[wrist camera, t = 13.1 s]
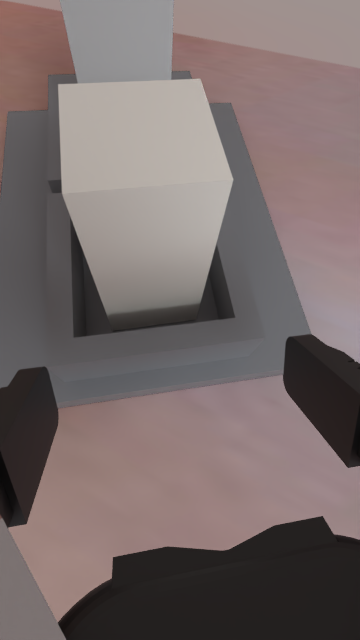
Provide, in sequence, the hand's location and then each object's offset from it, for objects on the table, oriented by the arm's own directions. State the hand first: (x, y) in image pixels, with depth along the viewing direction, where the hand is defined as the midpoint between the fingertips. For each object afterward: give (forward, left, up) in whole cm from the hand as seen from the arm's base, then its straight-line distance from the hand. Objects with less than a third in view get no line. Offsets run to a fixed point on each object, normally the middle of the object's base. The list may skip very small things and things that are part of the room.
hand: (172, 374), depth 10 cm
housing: (0, -12, -8) cm, 14 cm away
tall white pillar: (0, -7, -6) cm, 9 cm away
